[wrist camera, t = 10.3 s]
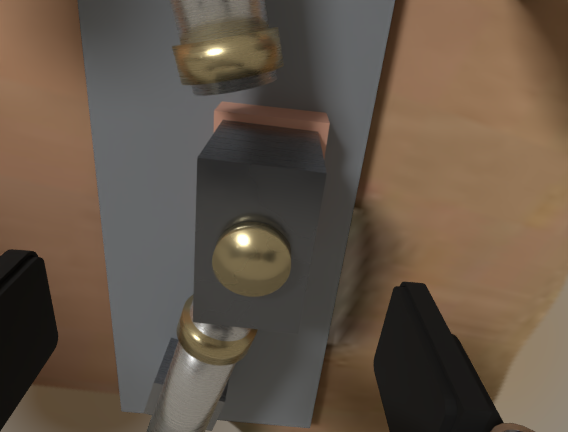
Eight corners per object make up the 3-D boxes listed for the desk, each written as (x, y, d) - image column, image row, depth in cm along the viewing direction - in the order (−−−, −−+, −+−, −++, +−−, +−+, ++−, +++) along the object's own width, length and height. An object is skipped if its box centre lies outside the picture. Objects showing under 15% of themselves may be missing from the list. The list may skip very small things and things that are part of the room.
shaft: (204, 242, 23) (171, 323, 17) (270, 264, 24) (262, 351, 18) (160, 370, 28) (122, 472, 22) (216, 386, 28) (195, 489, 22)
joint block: (215, 252, 20) (188, 333, 15) (223, 119, 17) (192, 163, 12) (297, 261, 20) (298, 345, 15) (318, 131, 17) (328, 180, 12)
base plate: (126, 398, 29) (109, 438, 26) (50, -388, 13) (-13, -493, 10) (309, 415, 29) (310, 456, 27) (454, -331, 13) (495, -419, 11)
